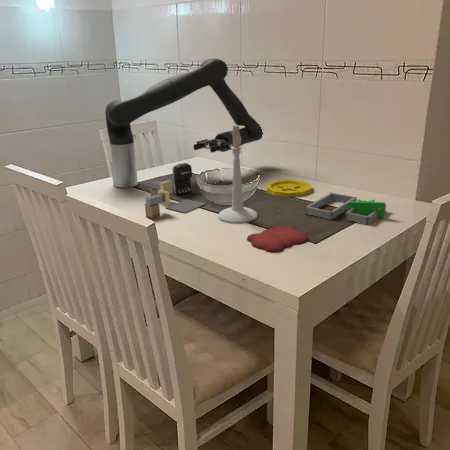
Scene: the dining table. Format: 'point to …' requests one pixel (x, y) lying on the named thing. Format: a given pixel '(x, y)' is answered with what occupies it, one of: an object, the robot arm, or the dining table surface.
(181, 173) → the battery charger
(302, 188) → the decorative disc
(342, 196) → the parts corral
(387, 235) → the dining table surface
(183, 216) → the dining table surface
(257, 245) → the patty
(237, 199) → the candlestick
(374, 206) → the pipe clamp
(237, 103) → the robot arm
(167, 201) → the set of rectangular blocks
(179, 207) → the plate
